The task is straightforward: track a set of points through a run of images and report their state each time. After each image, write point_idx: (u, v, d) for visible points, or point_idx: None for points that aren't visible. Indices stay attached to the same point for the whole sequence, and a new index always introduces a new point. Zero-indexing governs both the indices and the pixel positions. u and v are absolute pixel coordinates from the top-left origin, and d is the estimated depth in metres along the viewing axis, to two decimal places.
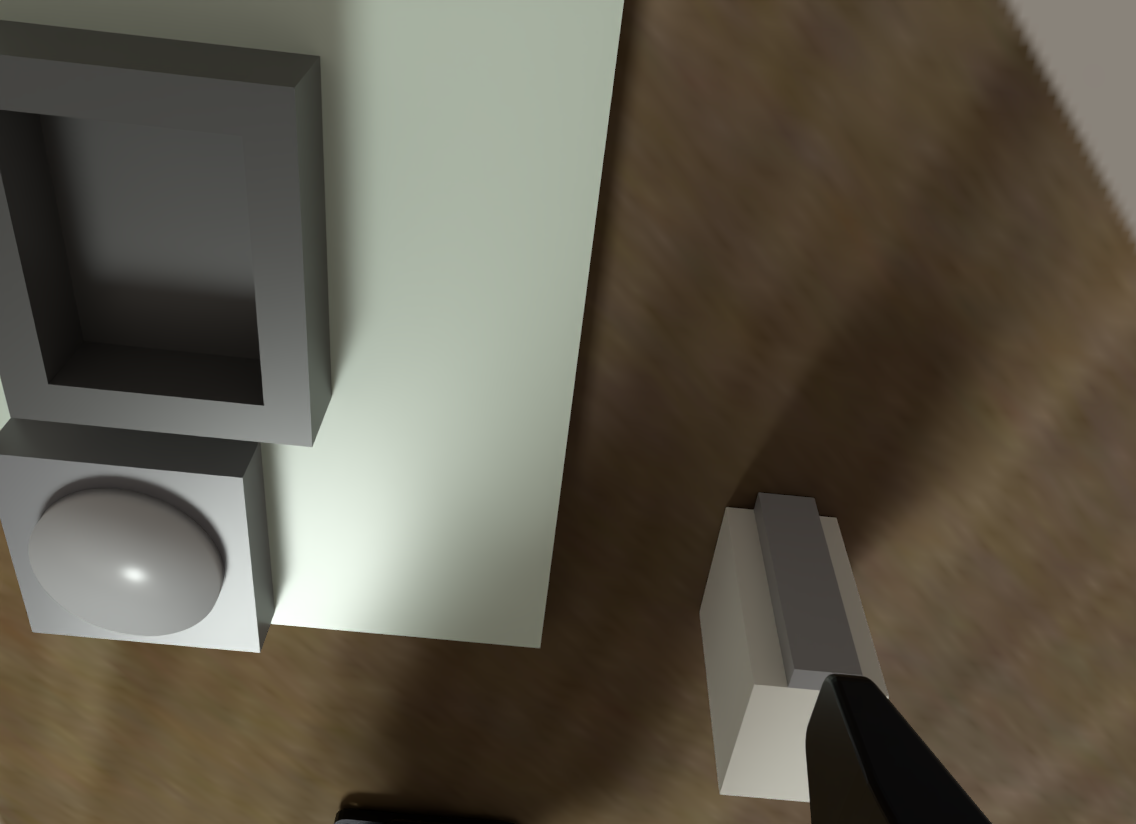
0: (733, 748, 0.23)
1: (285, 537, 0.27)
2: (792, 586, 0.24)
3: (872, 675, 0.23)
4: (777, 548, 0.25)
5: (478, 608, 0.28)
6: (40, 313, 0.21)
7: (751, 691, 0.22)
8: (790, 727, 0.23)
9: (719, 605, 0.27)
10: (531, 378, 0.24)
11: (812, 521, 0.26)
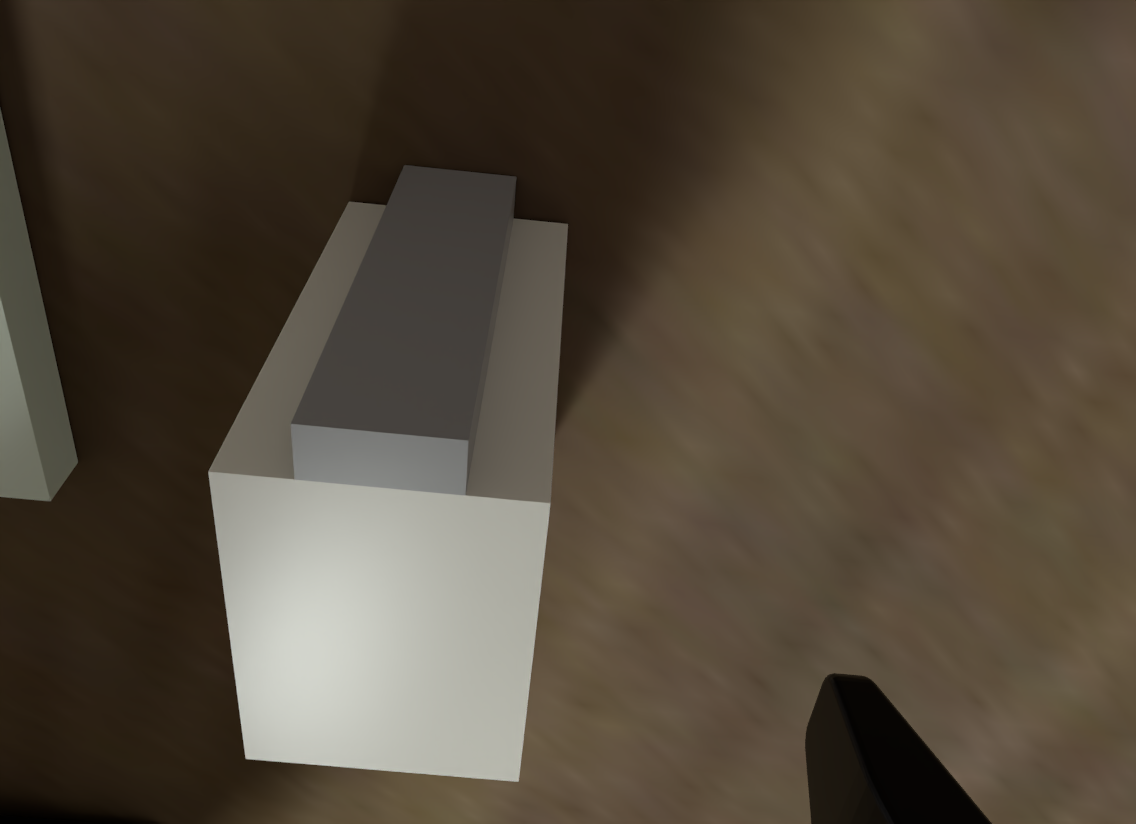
0: (232, 648, 0.10)
1: None
2: (386, 287, 0.11)
3: (527, 462, 0.09)
4: (392, 234, 0.12)
5: None
6: None
7: (212, 493, 0.09)
8: (339, 591, 0.10)
9: None
10: None
11: (494, 204, 0.13)
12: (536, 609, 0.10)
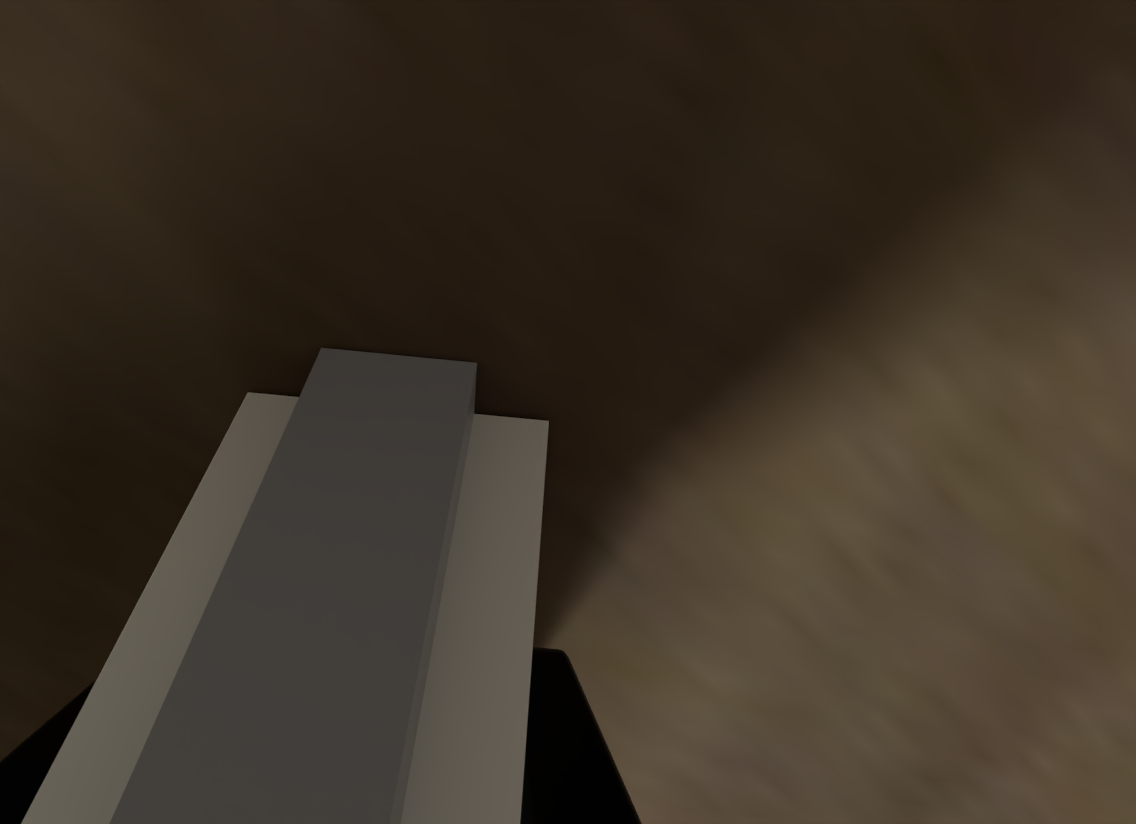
0: None
1: None
2: (259, 611, 0.07)
3: None
4: (285, 489, 0.08)
5: None
6: None
7: None
8: None
9: None
10: None
11: (441, 418, 0.09)
12: None
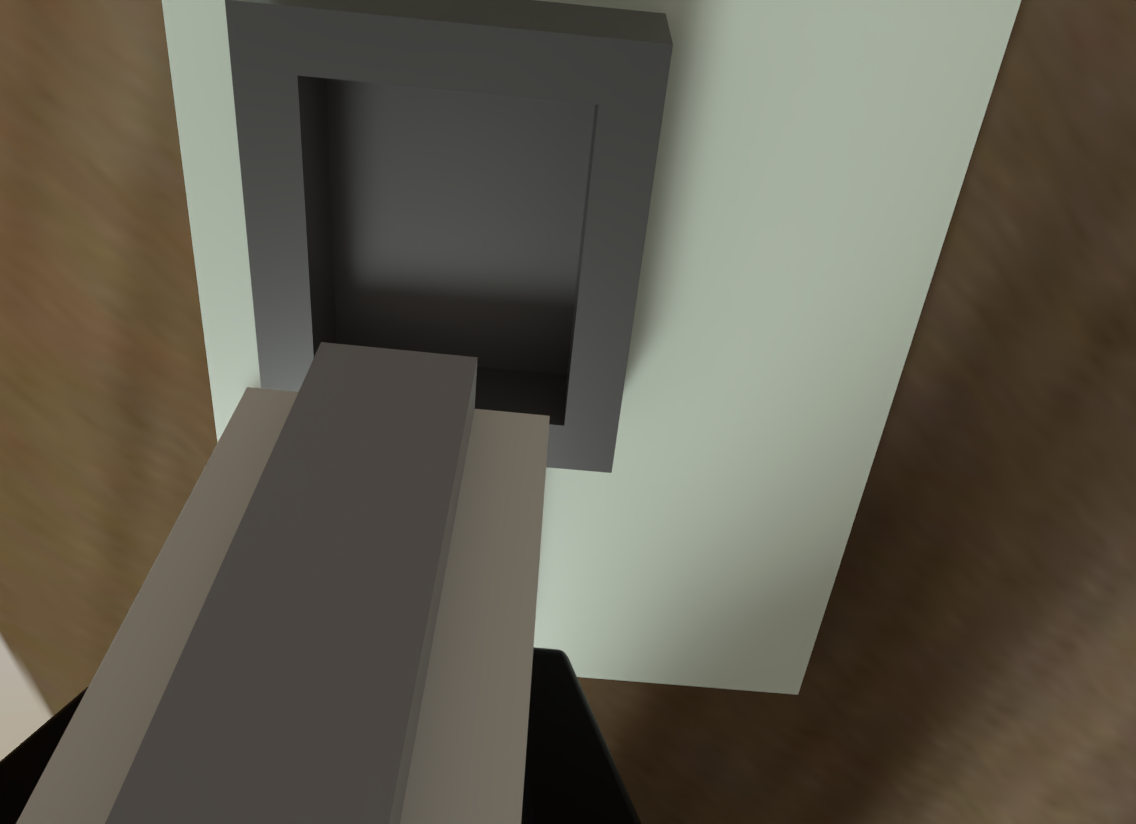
0: None
1: None
2: (258, 605, 0.07)
3: None
4: (284, 483, 0.08)
5: (736, 651, 0.25)
6: (315, 321, 0.18)
7: None
8: None
9: None
10: (845, 390, 0.21)
11: (441, 412, 0.09)
12: None
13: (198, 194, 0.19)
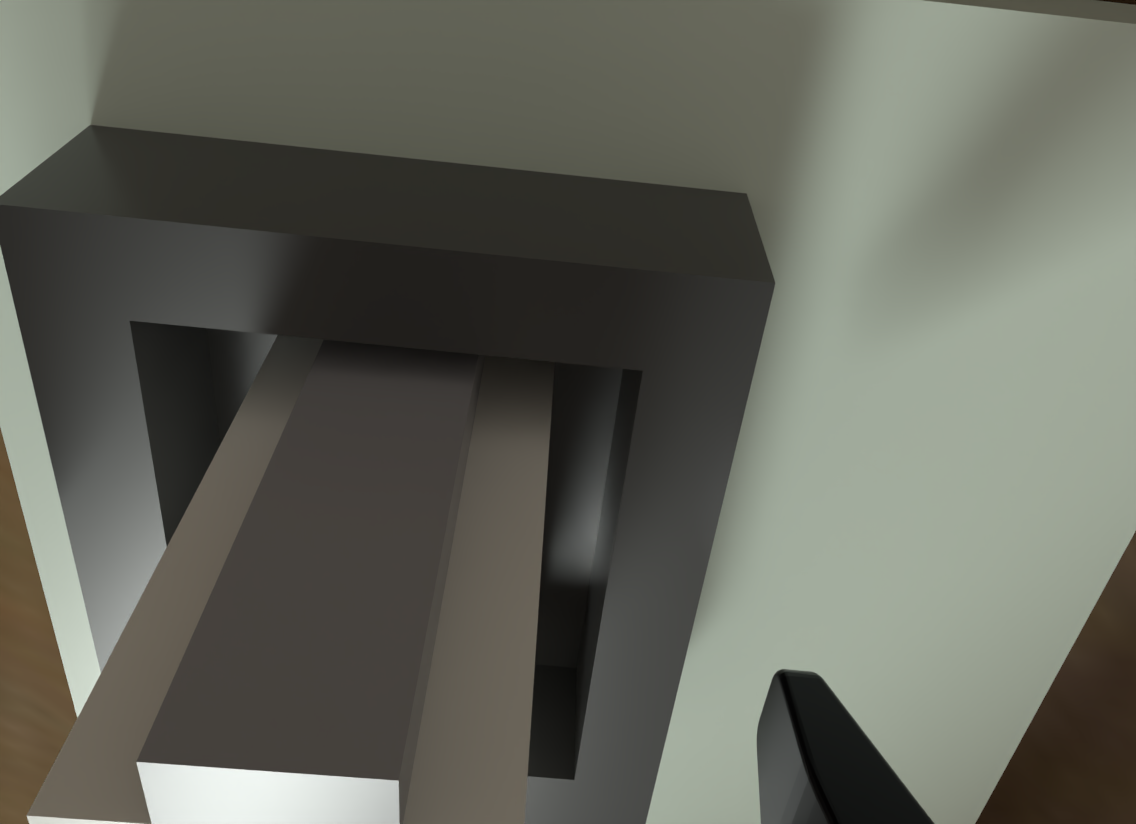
0: None
1: None
2: (305, 488, 0.08)
3: (490, 770, 0.07)
4: (322, 396, 0.09)
5: None
6: None
7: None
8: None
9: None
10: (976, 687, 0.14)
11: None
12: None
13: (20, 433, 0.12)
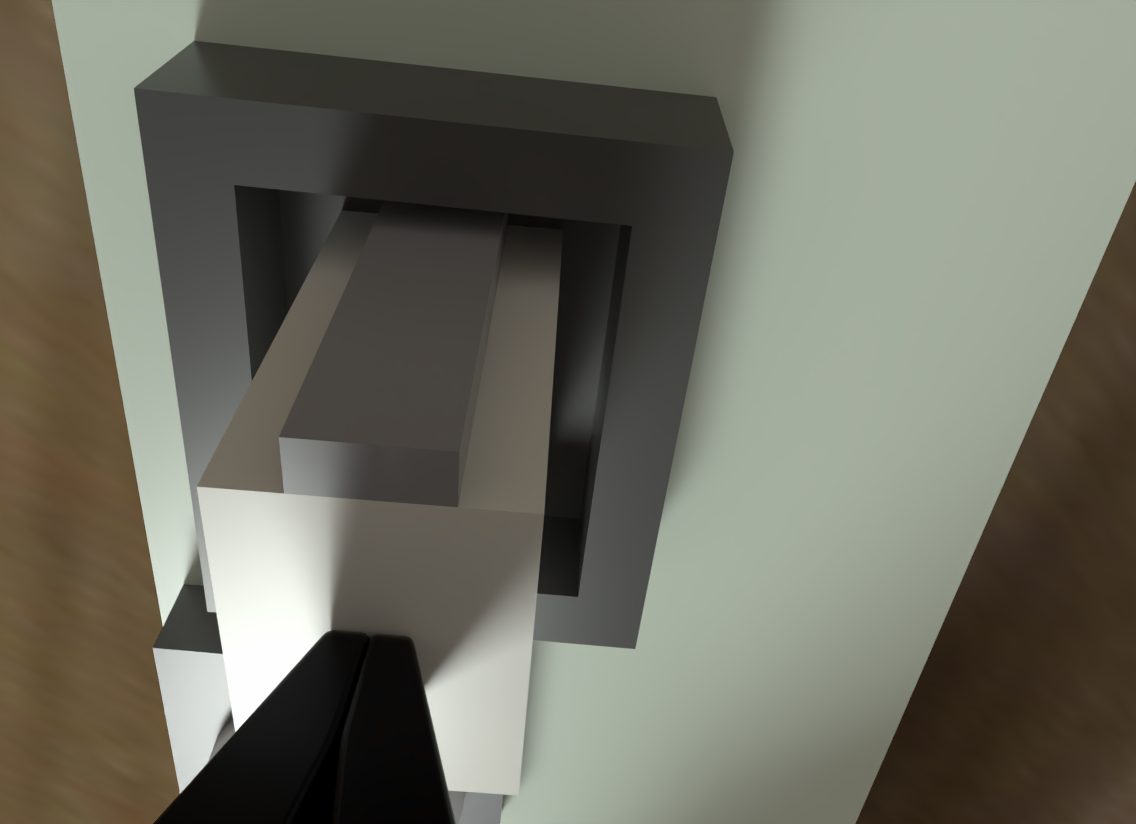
0: (226, 664, 0.10)
1: (531, 729, 0.20)
2: (377, 296, 0.10)
3: (520, 473, 0.09)
4: (383, 243, 0.12)
5: (772, 810, 0.21)
6: None
7: (200, 506, 0.09)
8: (332, 605, 0.09)
9: None
10: (917, 538, 0.17)
11: (487, 211, 0.13)
12: (532, 621, 0.10)
13: (121, 307, 0.15)
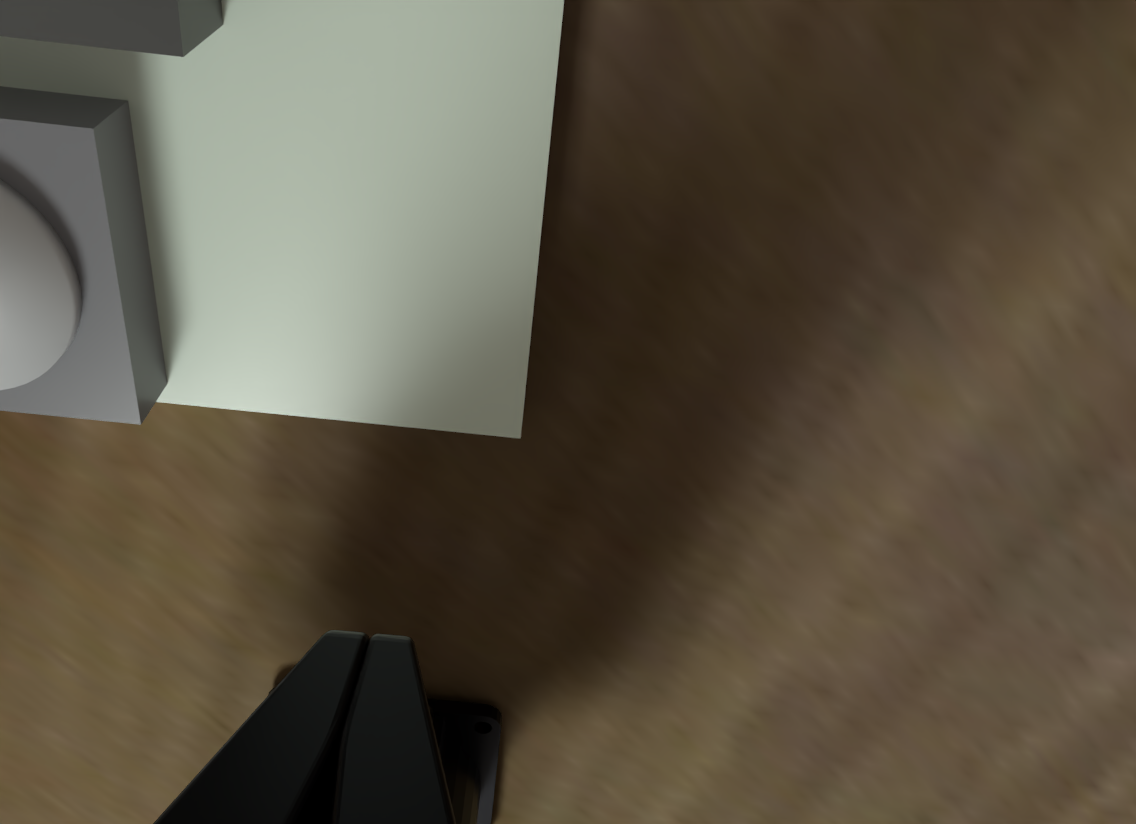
0: None
1: (173, 264, 0.20)
2: None
3: None
4: None
5: (438, 376, 0.21)
6: None
7: None
8: None
9: None
10: None
11: None
12: None
13: None
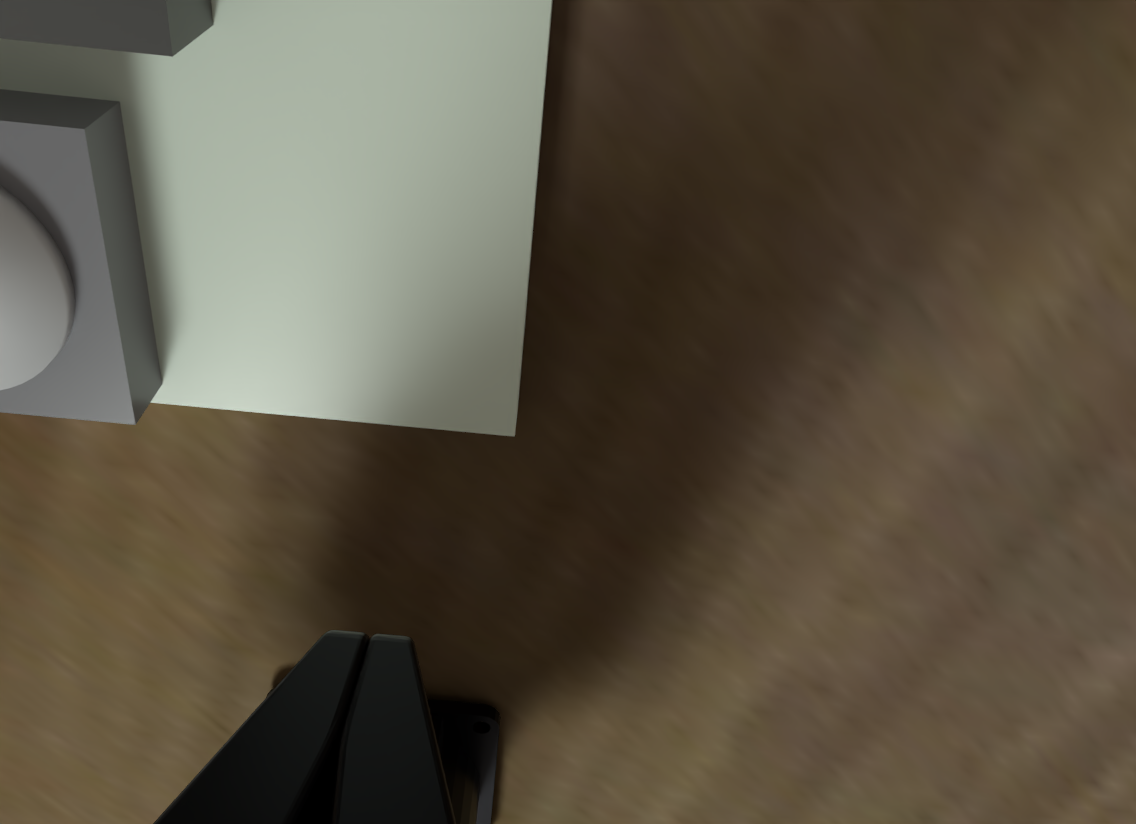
0: None
1: (167, 264, 0.20)
2: None
3: None
4: None
5: (432, 374, 0.21)
6: None
7: None
8: None
9: None
10: None
11: None
12: None
13: None
